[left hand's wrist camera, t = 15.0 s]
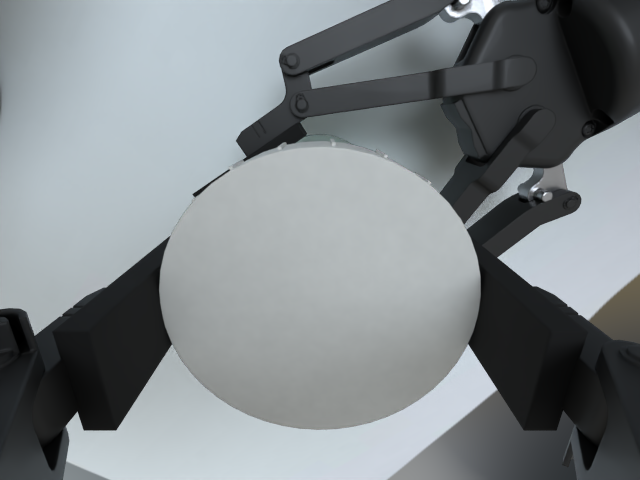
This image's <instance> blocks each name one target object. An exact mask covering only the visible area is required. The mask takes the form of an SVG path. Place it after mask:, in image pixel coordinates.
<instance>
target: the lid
mask: <svg viewBox="0 0 640 480" xmlns="http://www.w3.org/2000/svg"><path fill="white" fill-rule="evenodd" d="M229 169H230V171H229V172H227V173H226V174H224V175H223V176H222V177H220V178H219V179H217V180H216V181H214V182H213V183H211V184H210V185H209V186H208V187H207V188H206V189H205V190H204V191H203V192H202V193H201V194H199V195H198V196H196V197H195V198H193V200H192V203H191V205H190V206H189V207H188V208H187V210H186V211H185V212H184V213H183V215H182V216H181V218H180V219H179V221H178V223H177V225H176V226H175V228H174V230H173V232H172V233H171V236H170V239H169V241H168V244H167V246H166V249H165V252H164V256H163V261H162V265H161V270H160V284H159V294H160V305H161V311H162V316H163V320H164V324H165V328H166V330H167V333H168V335H169V338H170V340H171V343H172V345H173V346H174V348H175V350H176V352H177V353H178V355H179V357H180V359H181V360H182V361H183V363H184V364H185V365H186V367H187V368H188V369H189V371H190V372H191V373H192V374H193V375H194V376H195V377H196V379H197V380H198V381H199V382H200V383H201V384H202V385H203V386H204V387H206V388H207V389H208V390H209V391H210V392H212V393H213V394H214V395H215V396H217V397H218V398H219V399H221V400H223V401H224V402H226V403H227V404H229V405H230V406H232V407H234V408H236V409H238V410H240V411H242V412H244V413H246V414H248V415H250V416H253V417H255V418H258V419H261V420H263V421H266V422H270V423H274V424H278V425H282V426H287V427H293V428H300V429H316V430H321V429H339V428H347V427H354V426H358V425H362V424H366V423H371V422H373V421H376V420H379V419H382V418H385V417H388V416H390V415H392V414H394V413H396V412H399V411H401V410H403V409H405V408H406V407H408V406H410V405H411V404H413V403H415V402H416V401H418V400H419V399H421V398H422V397H423V396H425V395H426V394H427V393H428V392H430V391H431V390H432V389H434V388H435V387H436V386H437V385H438V384H439V383H440V382H441V381H442V380H443V379H444V378H445V377H446V376H447V374H448V373H449V372H450V371H451V369H452V368H453V367H454V366H455V364H456V363H457V362H458V360H459V359H460V357H461V355H462V354H463V352H464V350H465V349H466V347H467V345H468V342H469V340H470V338H471V336H472V333H473V331H474V328H475V324H476V320H477V317H478V312H479V306H480V298H481V278H480V270H479V265H478V259H477V255H476V252H475V249H474V246H473V243H472V240H471V238H470V236H469V234H468V232H467V230H466V228H465V226H464V224H463V222H462V220H461V218H460V217H459V216H458V215H457V213H456V212H455V211H454V209H453V208H452V207H451V205H450V204H449V203H448V202H447V201H446V200H445V199H444V198H443V197H442V196H441V195H440V194H439V193H438V192H437V191H436V190H435V189H434V187H432V186H431V185H430V184H431V182H430V181H429V180H427V179H425V178H424V177H422V176H420V175H419V174H417V173H413V172H412V171H410V170H408V169H407V168H405V167H404V166H402V165H400V164H399V163H397V162H395V161H393V160H391V159H390V158H388V155H386V154H385V153H383V152H381V151H380V150H377V149H376V151H375V152H374V151H372V150H369V149H367V148H364V147H360V146H356V145H351V144H347V143H341V142H335V141H334V139H330V142H329V141H311V142H299V143H294V144H289V145H287V144H286V142H284V143H282V144H281V145H279V146H278V147H277V148H274V149H271V150H268V151H265V152H263V153H261V154H259V155H256V156H254V157H252V158H250V159H248V160H246V161H245V162H244V161H243V160H241V161H239V162H237V163H236V164H234V165H232V166H231V167H229Z"/></svg>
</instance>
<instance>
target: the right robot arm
mask: <svg viewBox="0 0 640 480" xmlns="http://www.w3.org/2000/svg"><path fill="white" fill-rule="evenodd" d="M438 14H439V16H440V17H441V19H442V20H443V21H445V22H447V23H452V22H455V21H457V20H459V19H461V18H468V19H470V20H471V21H472V22H473V23H474V25H473V27H472V29H471V31H470V33H469V35H468V37H467V39H466V42H465V44H464V46H463V48H462V50H461V52H460V54H459V56H458V58H457V61H456V63H455V65H454V67H452V68H446V69H440V70H435V71H430V72H424V73H417V74H411V75H404V76H397V77H391V78H384V79H377V80H371V81H364V82H357V83H351V84H344V85H337V86H331V87H324V88H317V89H312V88H311V83H310V78H309V75H311V74H313V73H316V72H318V71H320V70H323V69H325V68H327V67H329V66H332V65H334V64H336V63H339V62H341V61H343V60H345V59H348V58H350V57H352V56H355V55H357V54H359V53H361V52H364V51H366V50H368V49H371V48H373V47H375V46H377V45H380V44H382V43H384V42H387V41H389V40H391V39H393V38H396V37H398V36H400V35H403V34H405V33H407V32H409V31H412V30H414V29H416V28H418V27H420V26H422V25H424V24H426V23H427V22H429V21H430V20H432V19H433V18H434V17H435V16H437V15H438ZM279 63H280V67H281V69H282V73H283V78H284V82H285V86H286V95H285V98H284V100H283V102H282V103H281V104H280V105H279V106H277V107H276V108H274V109H273V110H272V111H270V112H269V113H267V114H266V115H265V116H263V117H262V118H260V119H259V120H258V121H256V122H255V123H253V124H252V125H251V126H249V127H248V128H246V129H245V130H243V131H242V132H241V133H240V135H239V137H238V138H237V140H236V142H237V143H238V145H239V146H240V147H241V149H242V150H243V152H244V153H245V155H246V156H247V157H246V158H245V159H243V161H244V162H245V161H246V160H248V159H250V158H252V157H254V156H256V155H259V154H261V153H263V152H265V151H268V150H271V149H274V148H277V147H278V146H279V145H281V144H282V143H284V142H286V144H287V145H289V144H294V143H296V142H298V141H299V140H301V139H302V138H304V137H305V136H306V134H307V133H306V131H305V130H304V128H303V126H302V125H301V123H300V122H301V121H303V120H304V119H306V118H307V117H313V116H320V115H326V114H333V113H340V112H347V111H354V110H361V109H368V108H374V107H381V106H388V105H395V104H402V103H409V102H415V101H422V100H429V99H436V98H443V103H442V104H441V107H442V109H443V111H444V113H445V116H446V117H447V119H448V120H449V121H450V122H451V123H452V124H453V125H454V126H455V127H456V131H457V137H458V142H459V145H460V147H461V149H462V151H463V153H464V154H465V155H464V157H463V158H462V159H461V161H460V162H459V163H458V165H457V166H456V168H455V172H454V175H453V177H452V178H451V179H450V180H449V182H448V183H447V184H446V186H445V187H444V188H443V190H442V191H441V192H440V193H439V194H440V195H441V196H442V197H443V198H444V199H445V200H446V201H447V202H448V203H449V204H450V205H451V207H452V208H453V209H454V211H455V212H456V213H457V215H458V216H459V217H460V218H461V220H462V222H463V224H465V223H466V221H467V220H468V219H469V218H470V217H471V215H472V214H473V213H474V212H475V210H476V209H477V208H478V207H479V206H480V204H481V203H482V202H483V201H484V200H485V198H486V197H487V196H488V195H489V194H491V193H493V192H496V191H497V190H499V189H500V188H501V187H502V185H503V184H504V183H505V182H506V181H507V179H508V178H509V177H510V176H511V175H512V173H513V172H514V171H515V170H516V169H517V167H526V168H534V171H533V175H532V176H531V178H530V179H529V180H527V181H526V182H525V183H522V184H520V185H519V186H518V192H519V193H517V194H515V195H512V196H511V197H509V198H507V199H506V200H504V201H503V202H501V203H500V204H498V205H497V206H496V207H495V208H493V209H492V210H491V211H490V212H488V213H487V214H486V215H485V216H483V217H482V218H481V219H480V220H478V221H477V222H476V223H475V224H473V225H472V226H471V227H469V228H468V229H467V232H468V234H469V235H470V236H471V237H472V238H473V239H474V240H476V241H477V242H478V243H479V244H481V245H482V246H483V247H484V248H486V249H487V250H488V251H489V252H490V253H492V254H493V255H494V256H495V257H498V256H500V255H501V254H502V253H504V252H505V251H506V250H508V249H509V248H510V247H512V246H513V245H514V244H516V243H517V242H518V241H520V240H521V239H522V238H524V237H525V236H526V235H528V234H529V233H530V232H532V231H533V230H534V229H536V228H537V227H538V226H540V225H542V224H545V223H547V222H550V221H552V220H555V219H558V218H560V217H563V216H566V215H568V214H571V213H573V212H575V211H576V210H577V209H578V208H579V206H580V204H581V197H580V195H579V194H578V193H576V192H572V191H569V190H567V186H566V180H565V175H564V170H563V165H562V163H563V162H565V161H566V160H567V159H568V158H569V157H570V155H571V154H572V153H573V151H574V150H575V149H576V148H577V147H578V146H579V145H580V144H581V143H582V142H583V141H585V140H586V139H588V138H590V137H592V136H594V135H596V134H599V133H601V132H603V131H605V130H607V129H609V128H611V127H613V126H615V125H617V124H619V123H621V122H622V121H624V120H626V119H628V118H629V117H631V116H633V115H635V114H636V113H638V112H640V0H515V1H505V2H500V0H390V1H388V2H385V3H383V4H381V5H379V6H377V7H374V8H372V9H370V10H368V11H366V12H363V13H361V14H359V15H357V16H355V17H352V18H350V19H348V20H346V21H344V22H341V23H339V24H337V25H335V26H333V27H330V28H328V29H326V30H324V31H322V32H319V33H317V34H315V35H313V36H310V37H308V38H306V39H304V40H302V41H299V42H297V43H295V44H293V45H291V46H288V47H286V48H285V49H284V50H283V51H282V52H281V54H280V58H279ZM229 171H230V169H229V170H227V171H226V172H224V173H223V174H221V175H220V176H218V177H217V178H216V179H214V180H213V181H211V182H210V183H208V184H207V185H205V186H204V187H202V188H201V189H200V190H198V191H197V192H195V193H194V194H193V196H194V197H196V196H198V195H199V194H201V193H202V192H203V191H204V190H205V189H206V188H207V187H208V186H209V185H210V184H211V183H213V182H214V181H216V180H217V179H219V178H220V177H222V176H223V175H224V174H226V173H227V172H229Z"/></svg>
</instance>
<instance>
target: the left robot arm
mask: <svg viewBox="0 0 640 480" xmlns="http://www.w3.org/2000/svg"><path fill="white" fill-rule="evenodd" d="M469 236H470V235H469ZM470 238H471V240H472V243H473V246H474V249H475V252H476V255H477V259H478V265H479V270H480V278H481V298H480V306H479V312H478V317H477V320H476V324H475V328H474V331H473V333H472V336H471V338H470V340H469V342H468V344H469V346H470V347H471V349H472V351H473V352H474V354H475V355H476V357H477V358H478V360H479V361H480V363H481V365H482V366H483V368H484V369H485V371H486V372H487V374H488V375H489V377H490V378H491V380H492V382H493V383H494V385H495V386H496V388H497V389H498V391H499V392H500V394H501V395H502V397H503V399H504V400H505V402H506V403H507V405H508V406H509V408H510V409H511V411H512V413H513V414H514V416H515V417H516V419H517V420H518V422H519V423H520V425H521V427H522V428H523V430H557V427H558V424H559V421H560V418H561V415H562V412H563V410H564V412H565V413H566V414H567V415H568V416H569V418H570V419H571V420H572V421H573V423H574V424H575V426H574V429H573V432H572V435H571V437H570V440H569V443H568V446H567V449H566V452H565V455H564V458H563V464H562V465H564V466H567V467H568V466H569V463H570V461H571V459H573V458H574V462H575V468H576V474H577V480H640V344H638V343H634V342H629V341H623V340H612V339H611V338H610V337H608V336H607V335H606V334H605V333H603V332H602V331H601V330H599V329H598V328H597V327H595V326H594V325H593V324H592V323H590V322H589V321H588V320H586V319H585V318H584V317H583V316H581V315H578V313H577V312H576V311H575V310H573V309H572V308H571V307H567V304H566V303H564V302H563V301H562V300H560V299H559V298H558V297H557V296H555V295H554V294H551V293H549V292H547V291H545V290H543V289H541V288H539V287H532V286H531V285H530V284H529V283H528V282H526V281H525V280H524V279H523V278H521V277H520V276H519V275H518V274H516V273H515V272H514V271H513V270H511V269H510V268H509V267H508V266H507V265H505V264H504V263H503V262H502V261H500V260H499V259H498V258H497V257H495V256H494V255H493V254H492V253H490V252H489V251H488V250H487V249H486V248H484V247H483V246H482V245H481V244H479V243H478V242H477V241H476V240H474V239H473V238H472V237H471V236H470ZM169 239H170V236H169V237H168V238H167V239H166V240H165V241H163V242H162V243H161V244H160V245H158V246H157V247H156V248H155V249H153V250H152V251H151V252H150V253H148V254H147V255H146V256H145V257H144V258H142V259H141V260H140V261H139V262H137V263H136V264H135V265H134V266H132V267H131V268H130V269H129V270H128V271H126V272H125V273H124V274H123V275H121V276H120V277H119V278H118V279H116V280H115V281H114V282H113V283H111V284H110V285H109V286H108V287H107V288H102V289H100V290H98V291H96V292H94V293H92V294H90V295H87V296H86V297H84V298H83V299H82V300H81V301H79V302H78V303H77V304H75V305H74V306H73V308H70V309H69V310H68V311H66V312H65V313H64V314H63V316H62V317H59V318H57V319H56V320H55V321H53V322H52V323H51V324H50V325H48V326H47V327H46V328H44V329H43V330H42V331H41V332H39V333H38V334H37V335H35V336H34V333H33V330H32V327H31V324H30V321H29V318H28V315H27V312H25V311H23V310H21V309H13V308H8V309H0V480H63V475H64V469H65V464H66V458H67V452H68V446H69V436H68V432H67V429H66V425H67V424H68V422H69V421H70V420H71V419H72V417H73V416H74V415H75V414H76V413H77V411H78V414H79V417H80V420H81V423H82V426H83V429H84V430H117V428H118V427H119V425H120V424H121V422H122V421H123V419H124V418H125V416H126V414H127V413H128V411H129V410H130V408H131V407H132V405H133V404H134V402H135V401H136V399H137V397H138V396H139V394H140V393H141V391H142V390H143V388H144V387H145V385H146V383H147V382H148V380H149V379H150V377H151V376H152V374H153V373H154V371H155V370H156V368H157V366H158V365H159V363H160V362H161V360H162V359H163V357H164V356H165V354H166V352H167V351H168V349H169V348H170V346H171V345H172V343H171V340H170V338H169V335H168V333H167V330H166V328H165V324H164V320H163V316H162V311H161V305H160V294H159V284H160V270H161V265H162V261H163V256H164V252H165V249H166V246H167V244H168V241H169Z"/></svg>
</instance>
